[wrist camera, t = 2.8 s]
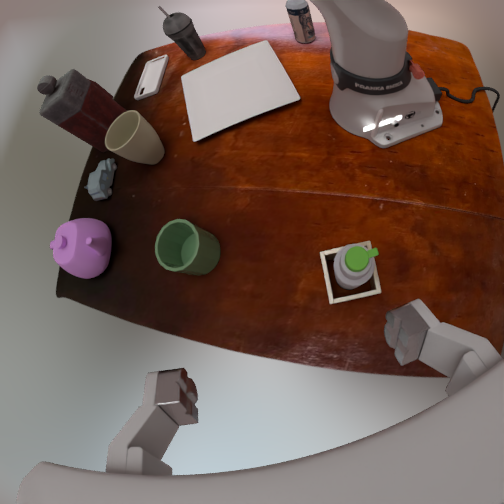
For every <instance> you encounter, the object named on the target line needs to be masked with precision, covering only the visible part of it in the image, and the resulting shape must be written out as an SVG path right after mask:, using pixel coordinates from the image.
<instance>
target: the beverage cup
mask: <svg viewBox="0 0 504 504" xmlns="http://www.w3.org/2000/svg"><path fill="white" fill-rule="evenodd" d="M158 8H159V9H160V10H161V11H162V12H163V13H164V14H165V15H166V16H167V18H166V19H165V20H164V22H163V30H164V32H165V34H166V35H167V36H168V37H169V38H171V39H172V40H173V41H175V43H176V44H177V45H178V46H179V47H180V48H181V49H182V50H183V51H184V52H185V53H186V54H187V56H188V57H190V58H191V59H192V60H197V59H200V58H201V57H203V56H204V55H205V53H206V50H205V48H204V46H203V44H202V42H201V40H200V38H199V36H198V34H197V32H196V30H195V28H194V25H193V22H192V19H191V18H189V17H188V16H187V15H186V14H184V13H173V14H171V15H168V14H167V13H166V12H165V11H164V10H163V9H162V8H161V7H160V6H159V7H158Z"/></svg>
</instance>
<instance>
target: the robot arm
mask: <svg viewBox="0 0 504 504" xmlns="http://www.w3.org/2000/svg"><path fill="white" fill-rule="evenodd" d="M310 1H311V2H312V3H313V4H314V5H315V6H316V7H317V8H318V10H319V11H320V12H321V14H322V15H323V17H324V19H325V22H326V25H327V28H328V32H329V36H330V41H331V46H332V47H331V50H330V59H331V63H330V65H331V72H332V77H333V80H334V88H333V93H332V96H331V98H330V104H329V105H330V111H331V114H332V116H333V118H334V119H335V121H336V122H337V123H338V124H339V125H340V126H341V127H342V128H344V129H345V130H347V131H348V132H350V133H352V134H355V135H357V136H361V137H364V138H367V139H369V140H370V141H371V142H373V143H374V144H375V145H377V146H378V147H380V148H387V147H390V146H392V145H395V144H397V143H400V142H402V141H405V140H407V139H410V138H412V137H415V136H418V135H420V134H423V133H425V132H428V131H431V130H433V129H436V128H438V127H440V126H441V125H442V121H443V116H442V111H441V108H440V105H439V103H438V101H439V100H440V98H441V95H442V92H441V91H446V94H447V96H449V97H450V98H452V99H454V100H456V101H459V102H462V103H471V102H473V101H474V99H475V93H476V92H477V91H479V90H491V91H493V92H495V93H496V94H497V98H496V100H495V103H494V105H493V107H492V112H494V110H495V107H496V105H497V103H498V101H499V98H500V95H499V93H498V91H496V90H495V89H493V88H490V87H478V88H475V89H474V90H473V92H472V98H471V99H469V100H463V99H459V98H456V97H454V96H452V95H451V94H449V90H448V89H447V88H444V87H438V86H437V85H436V83H435V82H434V81H433V79H432V78H425V73H424V71H423V70H422V69H421V68H420V66H419V65H418V64H414V63H413V62H412V58H411V56H410V55H409V54H408V52H406V45H407V36H408V28H407V24H406V22H405V20H404V18H403V17H402V15H401V14H400V13H399V12H398V11H397V10H396V9H395V8H394V7H393V6H392V5H391V4H389V3H388V2H386V1H385V0H310ZM437 113H438V114H437ZM386 138H389V139H390V140H387V139H386ZM386 320H387V321H388V322H387V323H386V324H385V326H384V334H385V339H386V341H387V343H388V345H389V346H390V347H392V348H394V349H395V354H394V355H395V356H396V358H397V360H398V361H399V363H400V364H401V366H402V365H405V364H407V363H409V362H412V361H414V360H416V359H418V360H420V361H422V362H424V363H425V364H427V365H429V366H430V367H432V368H434V369H436V370H437V371H439V372H441V373H442V374H444V375H446V376H447V377H449V378H451V380H450V382H449V384H448V385H447V387H446V390H445V391H446V392H447V394H448V396H449V397H447V398H445V399H444V400H442V401H440V402H438V403H437V404H435V405H433V406H431V407H429V408H428V409H426V410H424V411H422V412H420V413H418V414H416V415H414V416H412V417H410V418H408V419H406V420H404V421H402V422H400V423H398V424H396V425H393V426H391V427H389V428H387V429H384V430H382V431H380V432H377V433H375V434H373V435H370V436H367V437H365V438H362V439H360V440H357V441H354V442H351V443H348V444H346V445H343V446H340V447H337V448H334V449H330V450H327V451H324V452H320V453H317V454H314V455H310V456H306V457H302V458H299V459H295V460H290V461H286V462H281V463H277V464H272V465H267V466H262V467H256V468H250V469H244V470H236V471H228V472H220V473H210V474H195V475H172V468H171V467H170V466H169V465H167V464H165V463H164V462H162V461H161V459H162V457H163V455H164V453H165V452H166V450H167V448H168V446H169V444H170V442H171V441H172V439H173V437H174V435H175V433H176V432H177V430H178V428H179V426H181V425H188V424H194V423H198V409H197V408H196V406H195V403H196V402H197V400H198V394H197V389H196V386H195V383H194V382H193V380H192V379H191V378H188V377H187V371H186V370H185V369H184V368H179V369H172V370H165V371H157V372H150V373H148V374H147V376H146V381H145V388H144V396H143V405H142V406H141V407H139V408H138V409H137V410H136V411H135V413H134V414H133V415H132V416H131V418H130V419H129V420H128V422H127V423H126V424H125V425H124V427H123V428H122V429H121V430H120V432H119V433H118V434H117V436H116V437H115V438H114V439H113V441H112V442H111V443H110V444H109V448H108V456H107V465H106V472H100V471H91V470H85V469H79V468H73V467H68V466H63V465H58V464H54V463H50V462H40V463H38V464H37V465H36V466H35V467H34V468H33V469H32V470H31V471H30V472H29V473H28V474H27V476H25V478H24V479H23V481H22V482H21V484H20V487H19V491H18V494H17V499H16V504H504V359H502V358H501V356H500V355H499V353H498V352H497V351H496V350H495V348H494V347H493V346H492V345H491V343H490V342H489V341H488V340H487V339H486V338H483V337H481V336H478V335H476V334H473V333H470V332H468V331H465V330H463V329H460V328H457V327H455V326H452V325H450V324H447V323H444V322H442V323H440V322H439V321H438V319H437V318H436V317H435V316H434V315H433V314H432V312H431V311H430V310H429V309H428V308H427V306H426V305H425V304H424V303H423V302H422V301H421V300H420V299H416V300H414V301H412V302H409V303H406V304H404V305H401V306H399V307H396V308H394V309H392V310H389V311H387V313H386Z"/></svg>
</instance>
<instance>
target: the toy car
mask: <svg viewBox="0 0 504 504" xmlns="http://www.w3.org/2000/svg"><path fill="white" fill-rule="evenodd" d="M114 161H115V159H109V158H108V159H107V160H102V161H101V162H100V163H99V164H98V167H97V169H96V171H95V172H93V173H90V176H89V181H88V186H87V187H84V188H86V189H88V191H89V194H90V195H91V196H92V197H93V199H94V201H98V200H103V199H107V198H108V196H110V195H111V194H112V189H111V188H109V187H110V186H111V185H112V182H113V176H114V171H115V170H116V168H117V166H116V164H115V163H114Z"/></svg>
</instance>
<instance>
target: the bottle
mask: <svg viewBox="0 0 504 504" xmlns="http://www.w3.org/2000/svg"><path fill="white" fill-rule="evenodd" d="M377 255H379V254H378V250H377V248H374V249H371V250H368V249H367V248H366V247H364V246H362V245H360V244H349V245H346V246H344V247H342V248H341V249H340V250H339V251H338V252H337V254H336V256H335V258H334V272H335V278H336V281H337V283H338V285H339V286H340V287H342V288H343V289H347V290H351V289H354V288H356V287H358V286H360V285H362V284H364V283H365V282H367V281H368V280H369V279H370V278H371V276H372V274H373V272H374V267H375V263H374V258H373V257H375V256H377Z"/></svg>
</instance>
